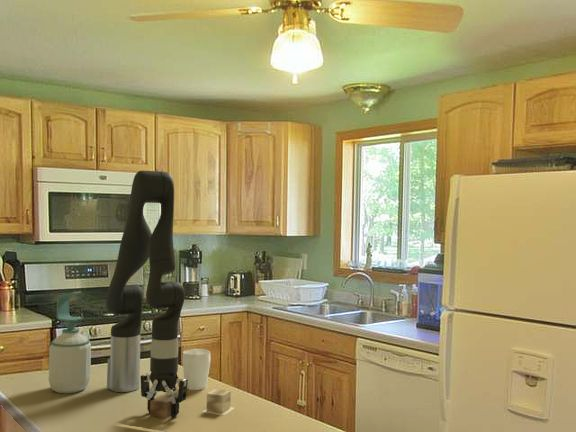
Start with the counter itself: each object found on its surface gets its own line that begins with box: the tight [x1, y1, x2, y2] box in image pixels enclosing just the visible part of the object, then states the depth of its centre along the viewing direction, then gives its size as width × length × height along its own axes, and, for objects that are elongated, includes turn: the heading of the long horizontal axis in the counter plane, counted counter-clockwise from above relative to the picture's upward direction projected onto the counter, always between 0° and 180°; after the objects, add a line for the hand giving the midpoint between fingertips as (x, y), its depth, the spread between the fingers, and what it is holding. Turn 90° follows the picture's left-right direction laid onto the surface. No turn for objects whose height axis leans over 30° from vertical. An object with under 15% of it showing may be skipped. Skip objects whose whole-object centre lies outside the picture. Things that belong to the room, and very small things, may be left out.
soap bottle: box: [48, 290, 92, 394], centre depth 183 cm, size 12×12×31 cm
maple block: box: [206, 388, 232, 414], centre depth 165 cm, size 5×5×5 cm
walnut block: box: [149, 395, 172, 420], centre depth 160 cm, size 5×5×5 cm
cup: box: [181, 348, 212, 391], centre depth 187 cm, size 9×9×12 cm
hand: (163, 414), depth 160 cm, fingers open, 6 cm apart
